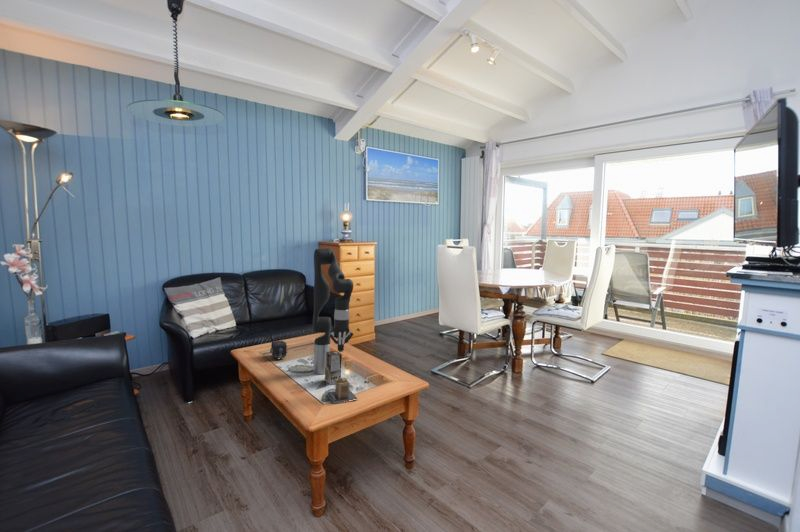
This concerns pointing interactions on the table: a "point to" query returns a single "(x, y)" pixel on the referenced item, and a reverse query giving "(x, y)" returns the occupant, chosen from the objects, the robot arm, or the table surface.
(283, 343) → the camera
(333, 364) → the coffee box
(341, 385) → the brown block
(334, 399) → the stub plate
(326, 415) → the table surface
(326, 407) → the table surface
